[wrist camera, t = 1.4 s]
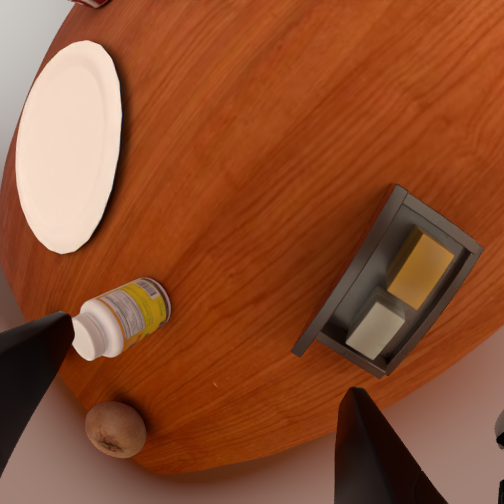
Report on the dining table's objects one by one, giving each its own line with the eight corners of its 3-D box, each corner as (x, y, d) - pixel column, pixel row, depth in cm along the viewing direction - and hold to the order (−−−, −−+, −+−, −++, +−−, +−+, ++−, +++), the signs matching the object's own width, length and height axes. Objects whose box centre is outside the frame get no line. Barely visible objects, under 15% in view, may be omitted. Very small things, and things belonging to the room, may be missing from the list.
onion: (155, 399, 40) (134, 434, 30) (152, 443, 40) (135, 480, 30) (100, 382, 40) (70, 410, 30) (101, 426, 40) (76, 457, 30)
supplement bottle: (142, 323, 32) (74, 363, 23) (129, 276, 31) (54, 307, 22) (179, 326, 30) (108, 375, 21) (166, 274, 29) (86, 311, 20)
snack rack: (476, 242, 17) (505, 264, 12) (388, 363, 22) (386, 409, 17) (390, 183, 19) (396, 183, 14) (311, 314, 24) (289, 351, 19)
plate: (77, 293, 37) (68, 297, 35) (11, 171, 41) (4, 172, 39) (178, 101, 24) (166, 97, 23) (72, 21, 28) (64, 19, 27)
